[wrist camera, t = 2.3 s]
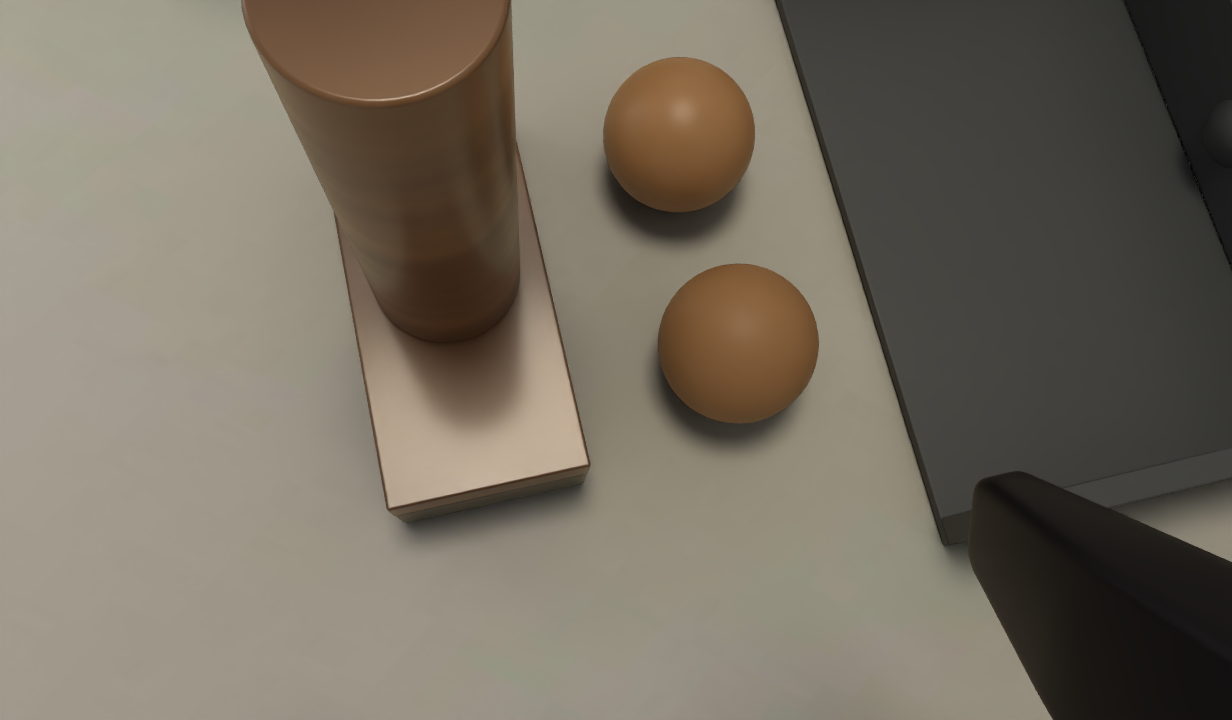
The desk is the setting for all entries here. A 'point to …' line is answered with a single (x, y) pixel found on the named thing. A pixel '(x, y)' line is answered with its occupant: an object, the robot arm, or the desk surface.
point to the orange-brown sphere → (738, 343)
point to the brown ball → (679, 134)
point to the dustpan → (1038, 231)
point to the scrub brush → (432, 242)
